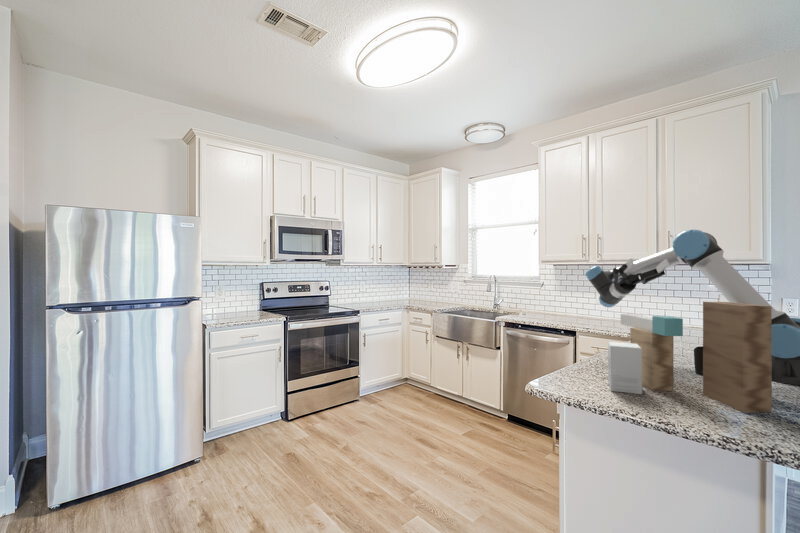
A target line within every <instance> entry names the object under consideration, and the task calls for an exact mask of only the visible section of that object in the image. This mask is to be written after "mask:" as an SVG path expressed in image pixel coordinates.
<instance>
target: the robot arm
mask: <svg viewBox="0 0 800 533" xmlns="http://www.w3.org/2000/svg"><path fill="white" fill-rule="evenodd" d="M724 252H725V251H724V249H722V247H720V246H719V244H718V241H717V238H715V236H714V235H712V234H711V233H708V232H705V231H702V230H700V229H687V230H684V231H682V232H679V234H677V235H676V236H675V237H674V239H673V242H672V247H671V248H667V249H666V250H662V251H661V252H657V253H654V254H652V255H649V256H646V257H643V258H641V259H637V260H635V261H634V260H633V258H629V259H628V260H627V261H626V262H625V263H624V264H622V265H621V266H619V267H614V268H612V269H610V270H607V271H604V269H603V268H601V267H600V266H599V265H595V266H593V267H591V268H589V269H588V270H587V271H586V272H585V276H586V278H587V280H588V281H589V282H590V284H591V285H592V286H593V287H594V288H595V290H596V291H597V292H598V294H599V297H598V301H599V303H600V304H601V305H602V306H603V307H604V308H605V307H606V308H614V306H616V305H617V304H619V303H620V302H621V301H622V300H623V299H624V298H625V297H627V296H628V295H629V294H630V293H631V292H632V291H634V290H635V288H636V286H637V284H640V283H642V284H643V285H646V284H647V283H649V282H650V281H654V280H656V279H657V278H660V277H662V276H665V275H666V273H665V270H666V269H669V268H671V267H674V266H677V265H680V264H685V265H686V264H688V266H689V267H691V269H692V270H697V271H700V272H701V273H702V274H703V276H705V278H707V280H708V281H710V283H711V284H712V285H713V286H714V287H715V289H717V290H718V291H719V293H721V295H722V296H723V297H724V298H725V299H726V300H727V302H733V303H744V304H754V305H765V306H771V334H772V381H773V382H777V383H782V384H787V385H792V386H794V385H795V386H800V318H799V317H790V316H789V315H788V314H787V313H786V311H780V310H777V309H775V307H773V306H772V305H771V304H770V303H769V302H768V301H767V300H766V299H765V297H763V296H762V295H761V293H759V292H758V291H757V290H756V289H755V287H753V285H752V284H750V283H749V282H748V281H747V280H746V279H745V277H743V276H742V275H741V273H739V272H738V270H737V269H735V267H734V266H733V265H731V264H730V262H728V260H727V259H725V257H724Z"/></svg>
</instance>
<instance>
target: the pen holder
mask: <svg viewBox="0 0 800 533" xmlns="http://www.w3.org/2000/svg"><path fill="white" fill-rule="evenodd" d="M693 359H694V360H693V362H694V363H693V364H694V372H695V373H696V374H697V375H699V376H703V345H702V346H701V345H700V346H696V347H695V348H693Z"/></svg>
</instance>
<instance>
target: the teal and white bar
mask: <svg viewBox="0 0 800 533" xmlns="http://www.w3.org/2000/svg"><path fill="white" fill-rule="evenodd" d="M683 320H684V318H680V317H675V316H670V315H669V316H667V315H663V316H661V315H657V316H656V315H652V317H648V316H643V315H637V314H632V313H620V325H623V326H626V327H630V328H638V329H642V330H646V331H650V332H652V333H655V334H659V335H663V336H673V337H683V336H684V334H683V333H684V330H683V328H684V323H683Z"/></svg>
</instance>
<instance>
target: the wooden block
mask: <svg viewBox="0 0 800 533" xmlns="http://www.w3.org/2000/svg"><path fill="white" fill-rule="evenodd" d="M629 335H630V337H629V338H630V342H629V343H633V344H638V345H639V347H641V348H642V387H644V388H646V389H648V390H651V391H664V392H665V391H668V392H669V391H670V392H672V391H674V336H663V335H659V334H655V333H652V332H650V331H646V330H642V329H638V328H634V327H630V334H629Z"/></svg>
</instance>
